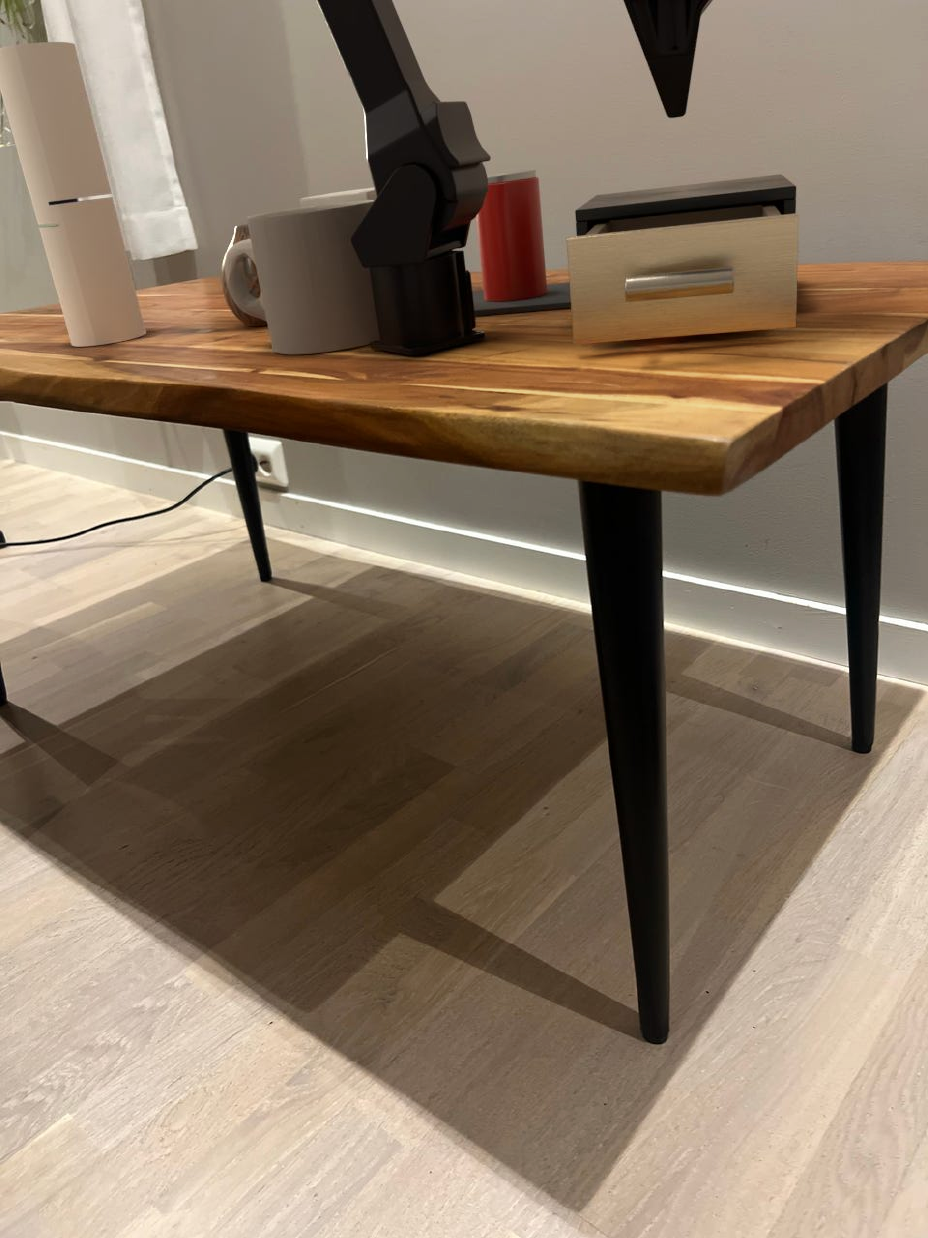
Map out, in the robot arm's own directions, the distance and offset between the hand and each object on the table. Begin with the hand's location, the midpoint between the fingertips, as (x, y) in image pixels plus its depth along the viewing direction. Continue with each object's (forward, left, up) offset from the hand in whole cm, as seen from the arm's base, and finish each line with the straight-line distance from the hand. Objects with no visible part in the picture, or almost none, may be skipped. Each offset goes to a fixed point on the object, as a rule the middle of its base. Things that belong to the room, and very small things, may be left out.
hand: (676, 117), depth 61 cm
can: (+5, +24, -12) cm, 28 cm away
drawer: (-1, -1, -12) cm, 12 cm away
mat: (+5, +25, -13) cm, 28 cm away
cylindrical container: (-23, +54, -13) cm, 60 cm away
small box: (-3, +37, -13) cm, 40 cm away
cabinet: (+8, +7, -13) cm, 17 cm away
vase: (-11, +43, -13) cm, 47 cm away
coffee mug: (-14, +27, -13) cm, 33 cm away
